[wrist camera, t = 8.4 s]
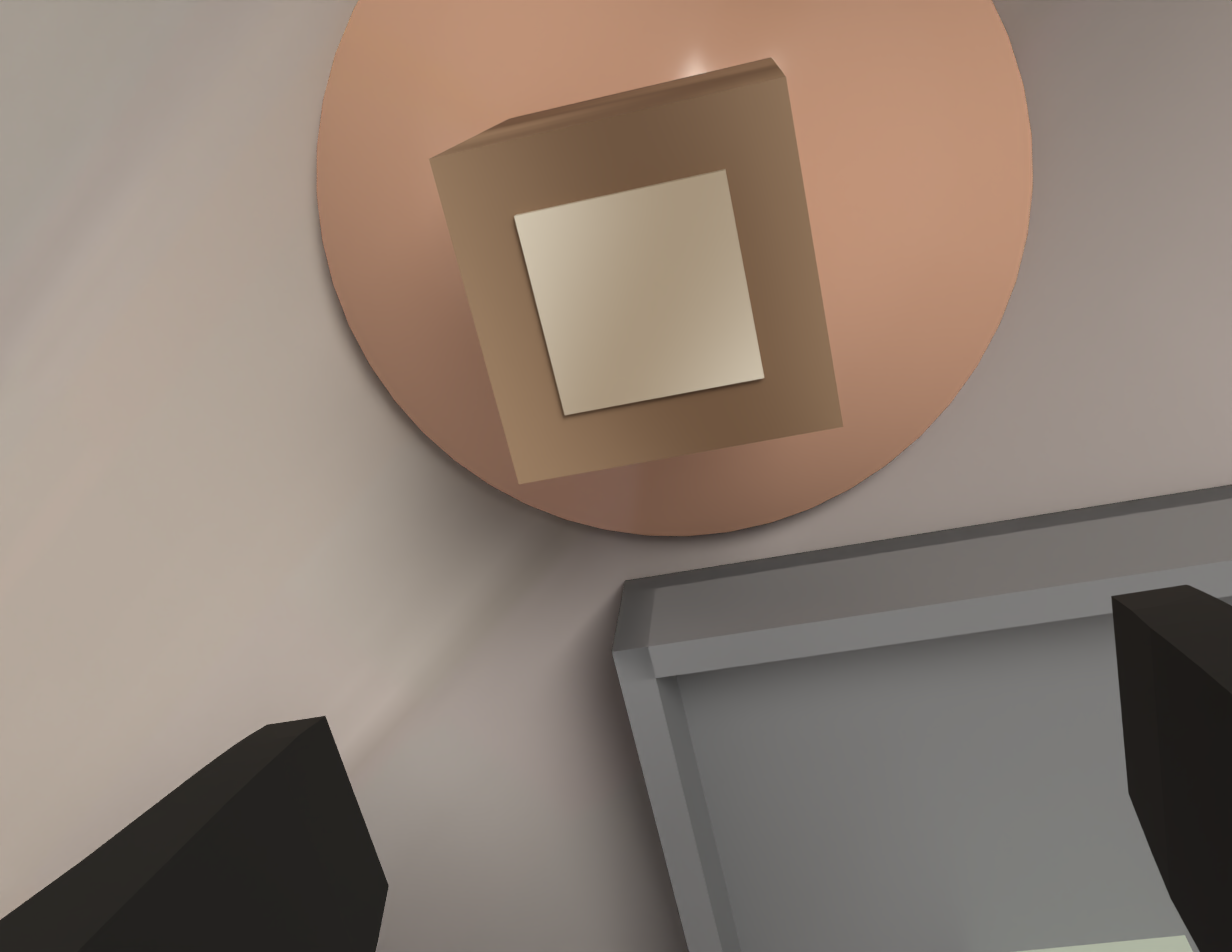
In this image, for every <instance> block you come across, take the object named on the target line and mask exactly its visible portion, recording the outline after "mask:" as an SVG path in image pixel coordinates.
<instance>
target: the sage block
mask: <svg viewBox="0 0 1232 952" xmlns="http://www.w3.org/2000/svg"><path fill="white" fill-rule="evenodd" d="M1017 952H1193V951H1192V949H1191V947H1190V945H1189V942H1188V940H1187V938H1186V936H1185V935H1182V936H1172V937H1161V938H1151V939H1141V940H1130V941H1120V942H1110V943H1100V944H1089V945H1079V946H1069V947H1058V948H1048V949H1038V950H1027V951H1017Z"/></svg>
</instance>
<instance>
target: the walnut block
mask: <svg viewBox="0 0 1232 952" xmlns="http://www.w3.org/2000/svg"><path fill="white" fill-rule="evenodd" d="M429 161H430V164H431V168H432V172H433V175H434V179H435V183H436V186H437V190H438V193H439V197H440V201H441V204H442V208H443V212H444V215H445V219H446V222H447V226H448V230H449V233H450V237H451V241H452V244H453V248H454V251H455V255H456V259H457V262H458V266H459V270H460V273H461V277H462V280H463V284H464V288H465V291H466V295H467V298H468V302H469V306H470V309H471V313H472V317H473V320H474V324H475V327H476V331H477V335H478V338H479V342H480V346H481V349H482V353H483V356H484V360H485V364H486V367H487V371H488V375H489V378H490V382H491V385H492V389H493V393H494V396H495V400H496V404H497V407H498V411H499V414H500V418H501V422H502V425H503V429H504V432H505V436H506V440H507V443H508V447H509V451H510V454H511V458H512V461H513V465H514V469H515V472H516V476H517V480H518V483H519V484H524V483H529V482H535V481H541V480H546V479H552V478H557V477H563V476H569V475H574V474H580V473H586V472H591V471H597V470H603V469H608V468H614V467H620V466H625V465H631V464H636V463H642V462H648V461H653V460H659V459H665V458H670V457H676V456H682V455H687V454H693V453H698V452H704V451H710V450H715V449H721V448H727V447H732V446H738V445H744V444H749V443H755V442H760V441H766V440H772V439H777V438H783V437H789V436H794V435H800V434H806V433H811V432H817V431H822V430H828V429H834V428H839V427H843V422H842V416H841V410H840V404H839V397H838V391H837V385H836V379H835V373H834V367H833V361H832V355H831V349H830V343H829V336H828V330H827V324H826V318H825V312H824V306H823V300H822V294H821V288H820V281H819V275H818V269H817V263H816V257H815V251H814V245H813V239H812V233H811V227H810V220H809V214H808V208H807V202H806V196H805V190H804V184H803V178H802V172H801V166H800V159H799V153H798V147H797V141H796V135H795V129H794V123H793V117H792V111H791V104H790V98H789V92H788V86H787V80H786V76H785V75H784V73H783V72H782V71H781V70H780V68H779V67H778V66H777V64H776V63H775V62H774V60H773V59H772V58H771V57H770V58H766V59H762V60H758V61H753V62H749V63H745V64H740V65H736V66H732V67H728V68H723V69H719V70H715V71H710V72H706V73H702V74H698V75H693V76H689V77H685V78H681V79H676V80H672V81H668V82H663V83H659V84H655V85H651V86H646V87H642V88H638V89H634V90H629V91H625V92H621V93H616V94H612V95H608V96H604V97H599V98H595V99H591V100H586V101H582V102H578V103H574V104H569V105H565V106H561V107H557V108H552V109H548V110H544V111H539V112H535V113H531V114H527V115H522V116H518V117H514V118H509V119H507V120H505V121H503V122H501V123H499V124H497V125H495V126H493V127H491V128H489V129H487V130H485V131H483V132H482V133H480V134H478V135H476V136H474V137H472V138H470V139H468V140H466V141H464V142H462V143H460V144H458V145H456V146H454V147H452V148H450V149H448V150H446V151H444V152H442V153H440V154H438V155H436V156H434V157H432V158H430V159H429Z"/></svg>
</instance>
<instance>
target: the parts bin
mask: <svg viewBox="0 0 1232 952" xmlns="http://www.w3.org/2000/svg"><path fill="white" fill-rule="evenodd" d="M1180 585H1190V586H1192V587H1194V588H1196V589H1199V590H1201V591H1203V592H1205V593H1207V594H1209V595H1211V596H1213V597H1216V598H1218V599H1220V600H1222V601H1223V602H1225V603H1227V604H1229V605H1231V606H1232V485H1226V486H1220V487H1214V488H1208V489H1201V490H1195V491H1189V492H1182V493H1176V494H1170V495H1163V496H1157V497H1151V498H1144V499H1138V500H1132V501H1125V502H1119V503H1113V504H1106V505H1100V506H1094V507H1088V508H1081V509H1075V510H1069V511H1062V512H1056V513H1050V514H1043V515H1037V516H1031V517H1024V518H1018V519H1012V520H1005V521H999V522H993V523H986V524H980V525H974V526H967V527H961V528H955V529H949V530H942V531H936V532H930V533H923V534H917V535H911V536H904V537H898V538H892V539H885V540H879V541H873V542H866V543H860V544H854V545H847V546H841V547H835V548H829V549H822V550H816V551H810V552H803V553H797V554H791V555H784V556H778V557H772V558H765V559H759V560H753V561H746V562H740V563H734V564H727V565H721V566H715V567H708V568H702V569H696V570H690V571H683V572H677V573H671V574H664V575H658V576H652V577H645V578H639V579H633V580H626V581H625V584H624V589H623V594H622V600H621V605H620V611H619V616H618V621H617V627H616V632H615V638H614V643H613V648H612V655H613V659H614V662H615V666H616V670H617V674H618V678H619V682H620V686H621V690H622V694H623V697H624V701H625V705H626V709H627V713H628V717H629V721H630V725H631V729H632V732H633V736H634V740H635V744H636V748H637V752H638V756H639V760H640V764H641V767H642V771H643V775H644V779H645V783H646V787H647V791H648V795H649V798H650V802H651V806H652V810H653V814H654V818H655V822H656V826H657V830H658V833H659V837H660V841H661V845H662V849H663V853H664V857H665V861H666V865H667V868H668V872H669V876H670V880H671V884H672V888H673V892H674V896H675V900H676V903H677V907H678V911H679V915H680V919H681V923H682V927H683V931H684V935H685V938H686V942H687V946H688V950H689V952H1017V951H1027V950H1038V949H1048V948H1058V947H1069V946H1079V945H1089V944H1100V943H1110V942H1120V941H1130V940H1141V939H1151V938H1161V937H1172V936H1182V935H1185V936H1186V938H1187V940H1188V942H1189V945H1190V947H1191V949H1192V951H1193V952H1200V951H1199V950H1198V948H1197V946H1196V944H1195V942H1194V941H1193V939H1192V937H1191V935H1190V933H1189V931H1188V930H1187V928H1186V926H1185V924H1184V922H1183V920H1182V919H1181V917H1180V915H1179V913H1178V911H1177V909H1176V908H1175V906H1174V904H1173V902H1172V900H1171V898H1170V896H1169V894H1168V891H1167V889H1166V886H1165V884H1164V881H1163V879H1162V877H1161V874H1160V872H1159V869H1158V867H1157V865H1156V862H1155V860H1154V857H1153V855H1152V852H1151V850H1150V847H1149V845H1148V842H1147V840H1146V837H1145V835H1144V832H1143V830H1142V827H1141V824H1140V822H1139V819H1138V817H1137V814H1136V812H1135V809H1134V806H1133V804H1132V801H1131V799H1130V796H1129V794H1128V783H1127V772H1126V760H1125V749H1124V737H1123V726H1122V714H1121V703H1120V691H1119V680H1118V668H1117V657H1116V645H1115V634H1114V622H1113V611H1112V599H1111V596H1115V595H1121V594H1128V593H1134V592H1141V591H1147V590H1154V589H1160V588H1167V587H1174V586H1180Z"/></svg>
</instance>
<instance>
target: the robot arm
mask: <svg viewBox="0 0 1232 952" xmlns="http://www.w3.org/2000/svg"><path fill="white" fill-rule="evenodd" d="M1111 599H1112V611H1113V622H1114V634H1115V645H1116V657H1117V668H1118V680H1119V691H1120V703H1121V714H1122V726H1123V737H1124V749H1125V760H1126V772H1127V783H1128V794H1129V796H1130V799H1131V801H1132V804H1133V806H1134V809H1135V812H1136V814H1137V817H1138V819H1139V822H1140V824H1141V827H1142V830H1143V832H1144V835H1145V837H1146V840H1147V842H1148V845H1149V847H1150V850H1151V852H1152V855H1153V857H1154V860H1155V862H1156V865H1157V867H1158V869H1159V872H1160V874H1161V877H1162V879H1163V881H1164V884H1165V886H1166V889H1167V891H1168V894H1169V896H1170V898H1171V900H1172V902H1173V904H1174V906H1175V908H1176V909H1177V911H1178V913H1179V915H1180V917H1181V919H1182V920H1183V922H1184V924H1185V926H1186V928H1187V930H1188V931H1189V933H1190V935H1191V937H1192V939H1193V941H1194V942H1195V944H1196V946H1197V948H1198V950H1199V951H1200V952H1232V606H1231V605H1229V604H1227V603H1225V602H1223V601H1222V600H1220V599H1218V598H1216V597H1213V596H1211V595H1209V594H1207V593H1205V592H1203V591H1201V590H1199V589H1196V588H1194V587H1192V586H1190V585H1180V586H1174V587H1167V588H1160V589H1154V590H1147V591H1141V592H1134V593H1128V594H1121V595H1115V596H1111ZM387 891H388V883H387V880H386V878H385V875H384V872H383V870H382V867H381V864H380V862H379V859H378V856H377V853H376V851H375V848H374V845H373V843H372V840H371V837H370V835H369V832H368V829H367V827H366V824H365V821H364V819H363V816H362V813H361V811H360V808H359V805H358V803H357V800H356V797H355V794H354V792H353V789H352V786H351V784H350V781H349V778H348V776H347V773H346V770H345V768H344V765H343V762H342V760H341V757H340V754H339V752H338V749H337V746H336V744H335V741H334V738H333V735H332V733H331V730H330V727H329V725H328V722H327V719H326V717H325V716H322V717H315V718H309V719H302V720H296V721H289V722H283V723H276V724H270V725H266V726H264V727H263V728H261V729H259V730H258V731H256V732H254V733H253V734H251V735H249V736H248V737H246V738H245V739H243V740H242V741H240V742H239V743H237V744H236V745H234V746H233V747H231V748H230V749H228V750H227V751H226V752H224V753H223V754H221V755H220V756H219V757H217V758H216V759H215V760H213V761H212V762H210V763H209V764H208V765H206V766H205V767H204V768H202V769H201V770H200V771H198V772H197V773H196V774H194V775H193V776H192V777H190V778H189V779H188V780H186V781H185V782H184V783H183V784H181V785H180V786H179V787H177V788H176V789H175V790H173V791H172V792H171V793H170V794H168V795H167V796H166V797H164V798H163V799H162V800H160V801H159V802H158V803H157V804H155V805H154V806H153V807H151V808H150V809H149V810H147V811H146V812H145V813H144V814H142V815H141V816H140V817H138V818H137V819H136V820H134V821H133V822H132V823H131V824H129V825H128V826H127V827H125V828H124V829H123V830H121V831H120V832H119V833H118V834H116V835H115V836H114V837H112V838H111V839H110V840H108V841H107V842H106V843H105V844H103V845H102V846H101V847H99V848H98V849H97V850H95V851H94V852H93V853H92V854H90V855H89V856H88V857H86V858H85V859H84V860H82V861H81V862H80V863H78V864H77V865H76V866H74V867H73V868H71V869H70V870H69V871H67V872H66V873H64V874H63V875H62V876H60V877H59V878H58V879H56V880H55V881H53V882H52V883H51V884H49V885H48V886H47V887H45V888H44V889H42V890H41V891H40V892H38V893H37V894H36V895H34V896H33V897H31V898H30V899H29V900H27V901H26V902H25V903H23V904H22V905H20V906H19V907H18V908H16V909H15V910H13V911H12V912H11V913H9V914H8V915H7V916H5V917H4V918H2V919H1V920H0V952H375V951H376V946H377V942H378V937H379V932H380V927H381V922H382V917H383V912H384V906H385V901H386V896H387Z"/></svg>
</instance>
